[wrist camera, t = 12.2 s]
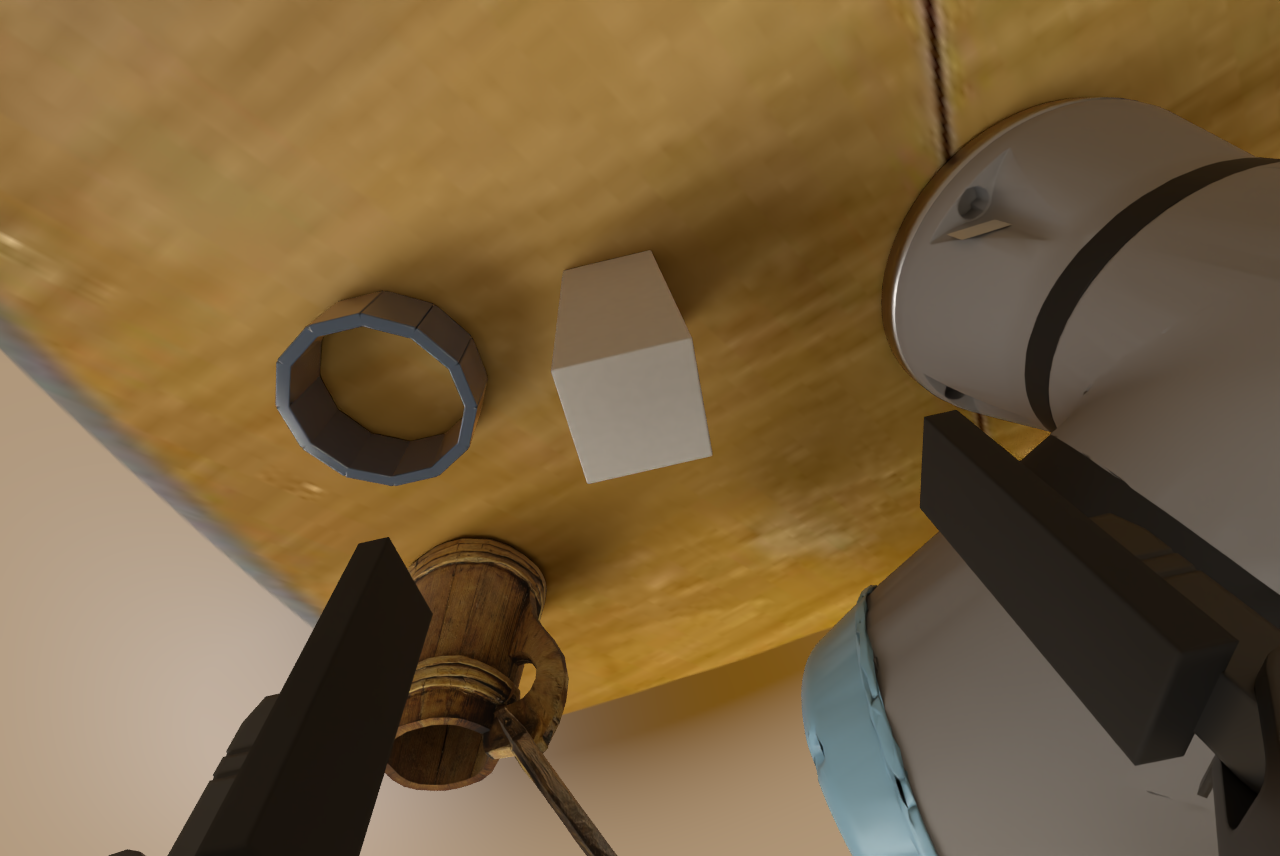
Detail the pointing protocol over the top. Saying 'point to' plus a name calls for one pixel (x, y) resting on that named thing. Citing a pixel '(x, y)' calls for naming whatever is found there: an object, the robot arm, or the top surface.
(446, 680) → the wooden mug
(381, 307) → the faceted metal ring
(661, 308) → the grey block
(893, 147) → the top surface
